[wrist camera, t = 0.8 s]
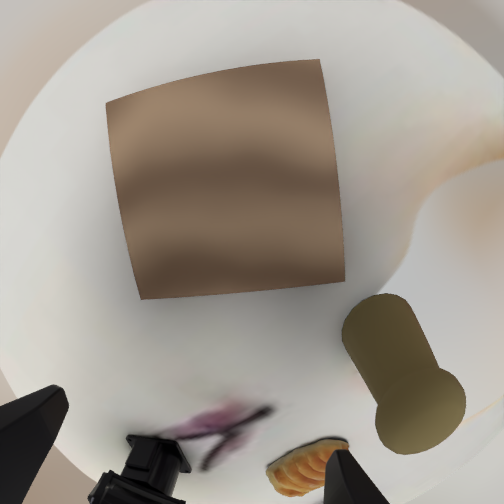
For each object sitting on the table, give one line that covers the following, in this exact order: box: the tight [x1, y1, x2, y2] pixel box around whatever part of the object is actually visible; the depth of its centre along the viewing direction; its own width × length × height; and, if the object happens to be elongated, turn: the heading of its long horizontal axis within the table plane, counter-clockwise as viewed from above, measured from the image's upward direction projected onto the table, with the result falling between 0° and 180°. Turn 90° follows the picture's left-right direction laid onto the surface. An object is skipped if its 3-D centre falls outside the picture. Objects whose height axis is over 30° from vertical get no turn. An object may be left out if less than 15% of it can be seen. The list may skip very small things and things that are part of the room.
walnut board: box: [106, 59, 345, 300], centre depth 18 cm, size 14×14×2 cm
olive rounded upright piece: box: [342, 293, 466, 455], centre depth 16 cm, size 6×6×11 cm
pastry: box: [266, 439, 349, 497], centre depth 24 cm, size 9×7×4 cm
